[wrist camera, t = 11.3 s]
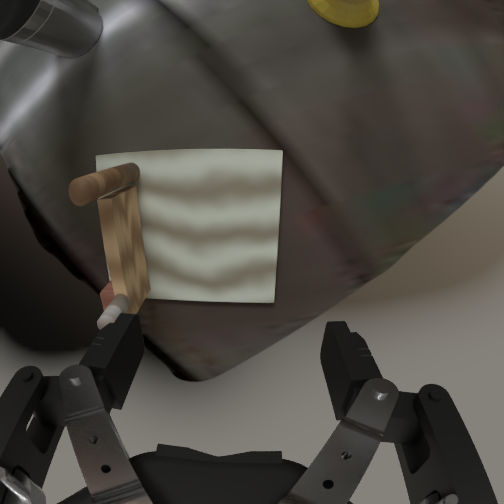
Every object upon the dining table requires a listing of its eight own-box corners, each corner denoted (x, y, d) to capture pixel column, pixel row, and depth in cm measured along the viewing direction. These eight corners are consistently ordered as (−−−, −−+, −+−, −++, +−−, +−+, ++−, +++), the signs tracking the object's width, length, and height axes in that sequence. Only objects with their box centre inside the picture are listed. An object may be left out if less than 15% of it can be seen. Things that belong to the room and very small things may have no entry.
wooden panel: (123, 186, 41) (70, 212, 27) (138, 185, 41) (88, 211, 27) (138, 289, 47) (103, 344, 33) (151, 289, 47) (120, 346, 33)
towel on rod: (98, 155, 40) (36, 169, 25) (281, 150, 41) (300, 158, 26) (114, 293, 49) (75, 348, 34) (273, 299, 50) (282, 365, 35)
